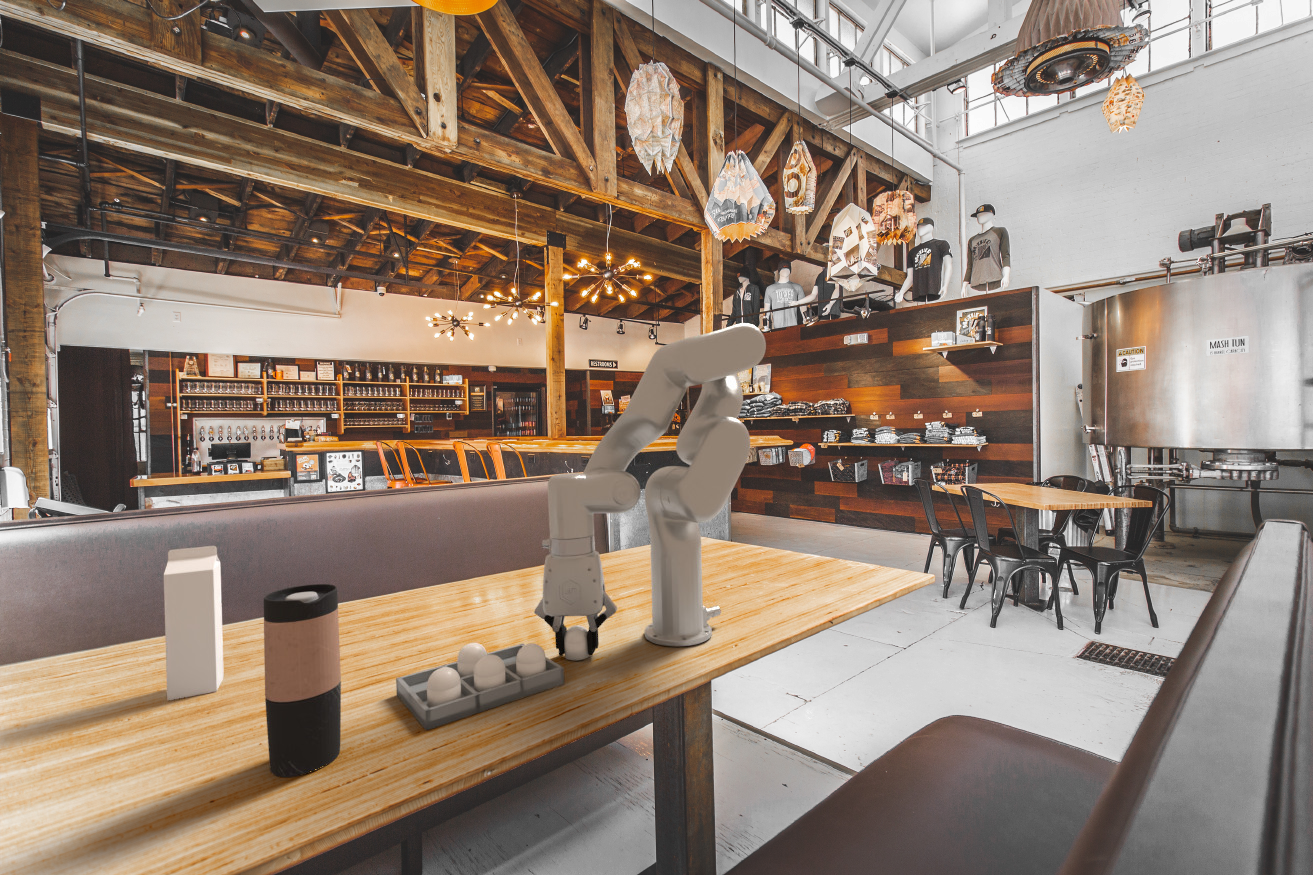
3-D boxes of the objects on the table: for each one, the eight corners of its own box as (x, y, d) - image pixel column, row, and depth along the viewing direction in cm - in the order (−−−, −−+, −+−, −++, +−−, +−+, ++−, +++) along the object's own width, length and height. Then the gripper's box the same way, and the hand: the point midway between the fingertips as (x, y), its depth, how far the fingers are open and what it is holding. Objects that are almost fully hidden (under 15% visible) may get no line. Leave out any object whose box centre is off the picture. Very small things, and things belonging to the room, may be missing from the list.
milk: (217, 691, 87) (213, 548, 87) (166, 701, 84) (162, 553, 84) (224, 677, 92) (220, 542, 92) (176, 686, 90) (172, 546, 89)
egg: (581, 647, 100) (580, 619, 100) (595, 654, 97) (594, 625, 97) (559, 655, 97) (558, 626, 97) (573, 662, 94) (571, 632, 94)
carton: (523, 657, 97) (522, 623, 97) (564, 683, 86) (562, 644, 86) (396, 694, 84) (395, 654, 84) (426, 730, 74) (424, 684, 74)
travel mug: (290, 744, 71) (285, 585, 71) (354, 740, 72) (349, 582, 72) (252, 781, 63) (247, 602, 63) (323, 776, 64) (318, 599, 64)
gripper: (517, 551, 94) (522, 661, 94) (617, 549, 92) (622, 661, 92) (531, 542, 101) (536, 644, 102) (624, 540, 100) (629, 643, 100)
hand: (577, 651), depth 97 cm, fingers closed on egg, 4 cm apart
